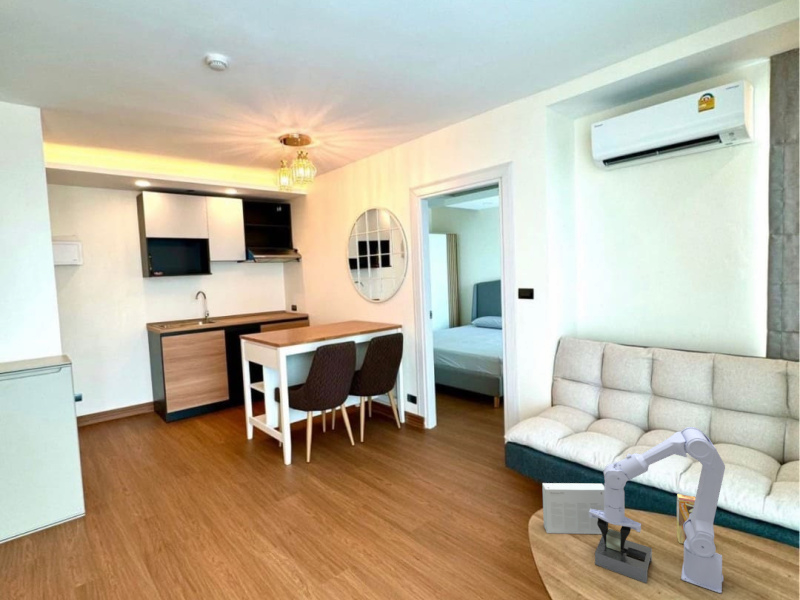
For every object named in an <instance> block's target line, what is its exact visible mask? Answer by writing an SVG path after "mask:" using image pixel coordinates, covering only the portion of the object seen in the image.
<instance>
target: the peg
mask: <svg viewBox="0 0 800 600" xmlns="http://www.w3.org/2000/svg"><path fill="white" fill-rule="evenodd" d="M606 547H608V548H611V549H614V550H617V551H620V552H621V533H620V531H618V530H614V529H612V528H608V532H607V535H606Z"/></svg>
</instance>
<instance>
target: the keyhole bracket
mask: <svg viewBox="0 0 800 600" xmlns="http://www.w3.org/2000/svg"><path fill="white" fill-rule="evenodd" d="M652 551H653V548H652V547H649V546H647V545H643V544H640V543H637V542H634V541H631V540H627V539H626V540H625V544H624V549H623V550H622V549H621V552H620V551H617V550H614V549H611V548H608V547H606V544H605V543H604V538H603V535H602V534H601V538H600V540H599V542H598V544H597V547H596V549H595V552H594V565H595V566H598V567H600V566H601V567H600V568H603V569H606V570H609V571H612V572H614V573H617V574H619V575H623V576H625V577H628V578H630V579H633V580H636V581H639V582H642V583H643V584H647V583H648V569H649V564H652V560H653V556H652V555H653V552H652Z"/></svg>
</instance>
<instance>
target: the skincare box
mask: <svg viewBox="0 0 800 600" xmlns="http://www.w3.org/2000/svg"><path fill="white" fill-rule="evenodd" d="M604 487H605V485H604V483H588V482H587V483H579V482H578V483H577V482H575V483H574V482H573V483H570V482H567V483H566V482H565V483H564V482H561V483H560V482H559V483H557V482H553V483H552V482H551V483H550V482H548V483H547V482H542V512H543V513H542V515H543V518H542V519H543V527H544V529H545V532H546V534H567V535H569V534H575V535H576V534H577V535H579V534H580V535H582V534H583V535H602V532H601V530H600V528H599V527H598V525H597V522H598V518H595V517H593V518H591V517H589V511H590V509H594V510H601V511H604Z"/></svg>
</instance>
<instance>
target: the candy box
mask: <svg viewBox="0 0 800 600" xmlns="http://www.w3.org/2000/svg"><path fill="white" fill-rule="evenodd" d="M695 498H696V496H693V495H686V494H680V493H677V495H676V538H677V541H678V543H679V544H683V545H684V542H685V540H686V538H687V536H686V534H685V532H684V530H683V524H684V523H685V521H687V520H688V518H689V514H690V513H692V512H693V508H694V503H695Z"/></svg>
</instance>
